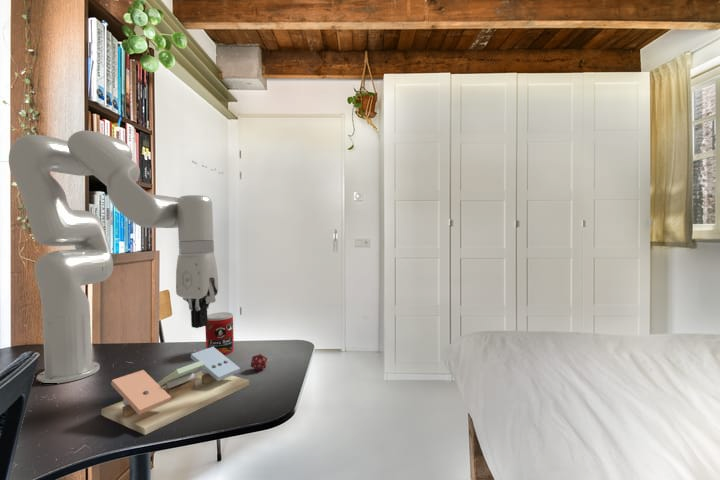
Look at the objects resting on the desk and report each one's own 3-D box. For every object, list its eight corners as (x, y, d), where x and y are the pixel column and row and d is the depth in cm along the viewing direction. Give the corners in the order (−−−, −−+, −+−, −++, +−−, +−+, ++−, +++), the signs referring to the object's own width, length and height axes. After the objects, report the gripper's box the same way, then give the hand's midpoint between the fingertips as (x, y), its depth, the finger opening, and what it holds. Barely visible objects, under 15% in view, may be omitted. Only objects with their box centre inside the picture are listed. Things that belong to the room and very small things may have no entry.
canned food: (206, 358, 106) (205, 319, 106) (205, 350, 113) (204, 313, 113) (235, 354, 109) (234, 316, 109) (232, 346, 117) (231, 311, 116)
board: (101, 415, 74) (100, 400, 74) (206, 373, 95) (206, 361, 94) (144, 435, 66) (144, 418, 66) (249, 385, 87) (248, 372, 87)
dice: (259, 366, 99) (258, 350, 99) (270, 369, 97) (270, 353, 96) (247, 370, 96) (247, 355, 96) (259, 374, 93) (258, 358, 93)
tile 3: (189, 362, 88) (191, 353, 87) (211, 355, 93) (213, 346, 92) (216, 386, 83) (218, 376, 82) (237, 377, 88) (240, 367, 87)
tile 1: (109, 390, 73) (112, 379, 72) (141, 379, 78) (143, 369, 78) (137, 421, 68) (139, 409, 68) (168, 407, 73) (171, 396, 73)
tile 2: (156, 396, 80) (152, 385, 80) (182, 386, 85) (178, 375, 86) (180, 380, 75) (176, 368, 76) (206, 370, 80) (202, 359, 81)
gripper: (162, 249, 89) (165, 326, 90) (202, 249, 81) (206, 334, 82) (191, 247, 96) (194, 319, 96) (231, 247, 88) (234, 326, 88)
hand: (199, 326), depth 89 cm, fingers closed
